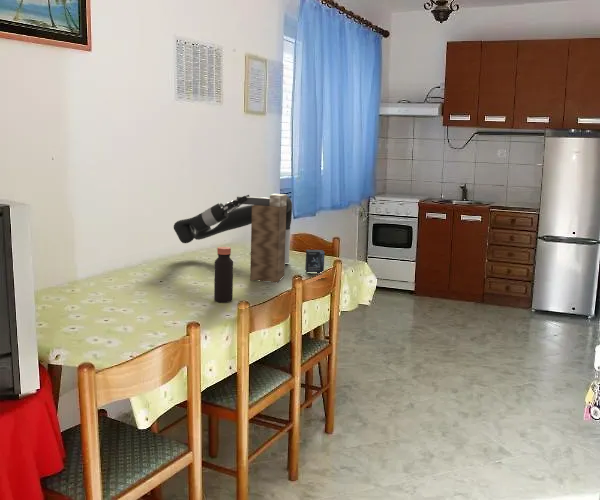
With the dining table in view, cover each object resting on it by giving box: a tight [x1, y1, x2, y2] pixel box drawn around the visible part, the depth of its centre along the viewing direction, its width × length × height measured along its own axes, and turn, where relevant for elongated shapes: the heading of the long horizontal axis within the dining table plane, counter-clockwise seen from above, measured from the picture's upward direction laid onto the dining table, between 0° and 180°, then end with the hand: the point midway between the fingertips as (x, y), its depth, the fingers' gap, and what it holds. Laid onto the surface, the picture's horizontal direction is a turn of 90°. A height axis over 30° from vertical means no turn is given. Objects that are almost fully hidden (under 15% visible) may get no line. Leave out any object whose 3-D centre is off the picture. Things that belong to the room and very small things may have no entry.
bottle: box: [213, 246, 234, 303], centre depth 237 cm, size 7×7×20 cm
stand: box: [249, 193, 288, 283], centre depth 274 cm, size 12×12×37 cm
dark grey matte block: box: [236, 195, 270, 206], centre depth 272 cm, size 19×4×3 cm, turn 77°
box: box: [304, 249, 325, 273], centre depth 291 cm, size 8×6×11 cm
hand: (247, 197), depth 273 cm, fingers closed on dark grey matte block, 4 cm apart
